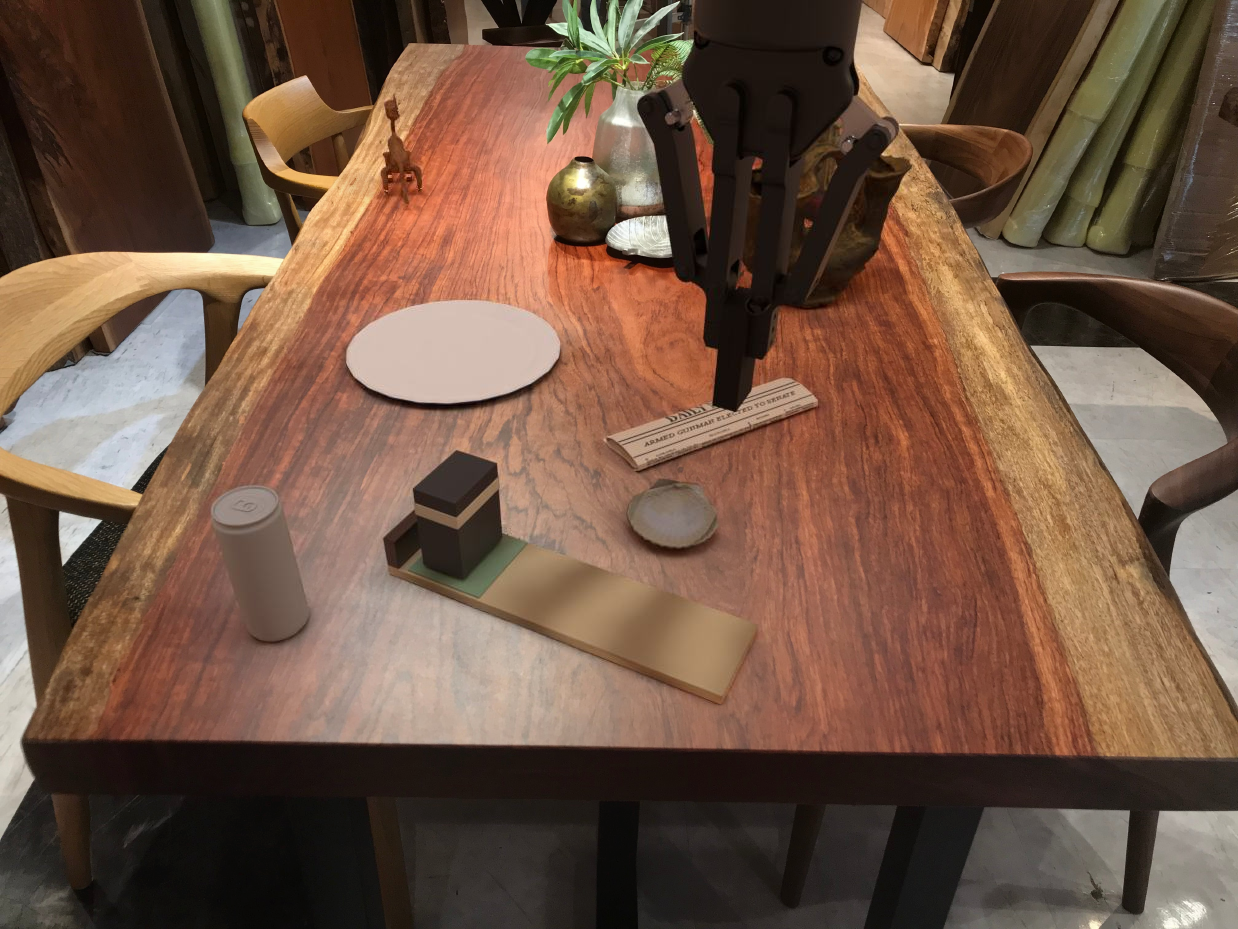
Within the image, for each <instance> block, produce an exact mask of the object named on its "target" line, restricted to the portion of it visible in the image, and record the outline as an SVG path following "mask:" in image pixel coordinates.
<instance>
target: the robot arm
mask: <svg viewBox="0 0 1238 929" xmlns="http://www.w3.org/2000/svg"><path fill="white" fill-rule="evenodd" d="M693 5H694V7H693V8H694V9H693V21H692V29H693V40H692V45H691V48H690V50H689V53H688V55H687V57H686V58H685V60H684V62H683V64H682V68H681V77H679V78H677V79H675V80H673V81H672V82H670V83H669V84H667V85H666V84H664V85H661V86H659V87H658V88H656V89H653V90H652V91H650V92H648V93H646V94H644V95H642V96H640V98H639V99H638V100H637V103H636V110H637V114H638V115H639V118H640V120H641V122H642V124H643V126H644V127H645V130H646V132H647V134H648V136H649V138H650V140H651V141H652V143H653V148H654V154H655V161H656V166H657V173H658V179H659V184H660V190H661V197H662V204H663V208H664V209H663V210H664V214H665V221H666V227H667V234H668V238H669V246H670V250H671V258H672V263H673V264H672V265H673V269H674V274H675V277H676V278H677V279H678V280H679V281H680V282H682V283H691V284H694V285H695V286H696V287H699V288H700V289H701V290H702V291H703V293H704V296H705V311H704V320H703V321H704V323H703V334H702V339H703V343H704V346H705V347H706V348H710V349H714V350H717V353H716V363H715V372H714V373H715V374H714V383H713V392H712V393H713V394H712V401H713V402H712V401H711V402H712V406H715V407H718V408H722V409H726V410H729V411H733V412H736V411H737V410H738V409H739V407H740V406H741V405H742V403H743V402H744V400H745V399H746V398H747V396H748V395H749V394H750V392H751V390H752V388H753V382H754V376H755V375H754V374H755V366H756V360H760V361H763V360H764V358H765V357H766V356H767V354H768V353H769V352H770V350H771V349H772V347H773V346H774V344H775V343H776V334H777V326H778V322H779V321H778V320H779V314H780V307H781V306H786V305H789V307H794V308H795V307H801V306H800V305H802V304H803V303H804V301H805V300H806V299H807V298H808V296H809V295H810V294H811V292H812V291H813V290H814V288H815V287H816V285H817V284H818V282H819V280H820V277H821V275H822V273H823V271H824V268H825V266H826V264H827V262H828V259H829V257H830V255H831V253H832V250H833V248H834V246H835V244H836V241H837V239H838V237H839V235H840V232H841V230H842V228H843V226H844V223H845V221H846V219H847V217H848V214H849V212H850V210H851V208H852V205H853V203H854V201H855V199H856V196H857V194H858V192H859V189H860V187H861V185H862V183H863V180H864V178H865V176H866V174H867V171H868V169H869V167H870V166H871V165H872V164H873V163H874V162H875V161H876V159H877V158H878V157H879V156H880V155H883V153H884V152H885V151H886V150H887V149H888V148H889V147H890V145H892V143H893V142H894V141H895V139H896V138H897V136H898V135H899V131H900V125H899V123H898V121H897V120H896V118H894V117H892V116H887V115H886V116H880V115H879V114H878V113H877V112H876V111H875V110H874V109H873V108H872V107H871V106H869V105H868V104H867V103H866V102H865V101H864V100H863V99H862V98H861V97H860V96H859V92H860V77H859V75H858V72H857V69H856V64H855V48H856V43H857V37H858V31H859V24H860V19H861V11H862V7H863V6H862V5H863V0H694V3H693ZM694 108H695V110H696V112H697V114H698V116H699V118H700V120H701V122H702V123H703V126H704V128H705V129H706V131H707V133H708V135H709V137H710V139H711V141H712V142H713V147H712V155H711V156H712V158H711V174H712V175H713V184H712V186H713V187H712V196H711V207H710V220H709V231H708V224H707V218H706V210H705V203H704V202H705V201H704V195H703V189H702V183H701V175H700V167H699V161H698V154H697V148H696V141H695V140H696V139H695V136H694V130H693V127H692V123H691V121H692V119H693V116H694ZM839 119H840V121H841V123H842V125H843V126H842V132H841V133H840V135H841V136H840V138H839V141H838V146H839V149H840V150H841V152H842V153H843V154H844V155H845V156H844V158H843V159H842V160H841V161H840V163H839V164H838V166H837V165H836V169H835V171H834V172H833V174H832V177H831V180H830V182H829V185H828V187H827V189H826V192H825V194H824V196H823V199H822V201H821V204H820V206H819V208H818V211H817V213H816V216H815V218H814V220H813V221H812V223H811V226H810V227H811V228H810V230H809V232H808V235H807V237H806V240H805V242H804V244H803V247H802V249H801V252H800V254H799V256H798V259H797V261H796V264H795V266H794V268H793V271H792V273H791V274H787V267H788V259H789V252H790V245H791V238H792V231H793V224H794V216H795V209H796V202H797V195H798V188H799V181H800V175H801V171H802V169H803V166H804V162H805V156H806V152H807V151H808V150H810V149H811V148H812V147H813V146H814V144H815V143H816V142H817V141H818V140H819V139H820V138H821V137H822V136H823V135H824V134H825V133H826V132H827V131H828V130H829V129H830V127H831V126H832V125H833V124H834V123H835V122H836V121H838V120H839ZM756 159H760V160H762V161H761V165H762V168H761V182H762V194H761V203H760V211H759V220H758V229H757V237H756V246H755V255H754V263H753V272H752V274H751V283H750V287H745V286H740V285H739V286H738V287H737V284H738V282H739V280H740V279H741V278H742V277H743V276H744V274H745V270H742V264H743V262H742V256H743V247H744V238H745V229H746V221H747V212H748V203H749V194H750V185H751V176H752V169H754V164H755V162H756Z"/></svg>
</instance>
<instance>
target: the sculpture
mask: <svg viewBox="0 0 1238 929" xmlns="http://www.w3.org/2000/svg"><path fill="white" fill-rule="evenodd" d="M840 129H843V123H842V122H840V121H838V120H837V121H836V122H835V123H834V124H833V125H832V126H831V127H830V129H829V130H828V131H827V132H826V133H825V134H824V135H823V136H822V137H821V138H820V139H819V140H818V141H817V142H816V143H815V144H817V143H825V142H830V143H832V144H835V145H836V146H838V141H839V138H840V136H841V133H840V132H841V130H840ZM815 144H814V145H815ZM838 148H839V146H838ZM836 168H837V165H836V163H835V159H834V158H833V157H830V158H827V159H826V160H825V162H824V165H823V167H822V169H821V170H820V171H819V172H818V175H817V181H818V183H819V185H820V188H819V191H818V192H817V193H816V194H815V195H814V196H813V198H812V200H811V201H810V202H809V205H808V210H807V214H806V218H805V219H807V220H809V221H811V222H813V220H814V218H815V216H816V213H817V211H818V208H819V206H820V204H821V201H822V199H823V196H824V194H825V192H826V189H827V187H828V185H829V182H830V180H831V177H832V175H833V173H834V171H835V169H836Z"/></svg>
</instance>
